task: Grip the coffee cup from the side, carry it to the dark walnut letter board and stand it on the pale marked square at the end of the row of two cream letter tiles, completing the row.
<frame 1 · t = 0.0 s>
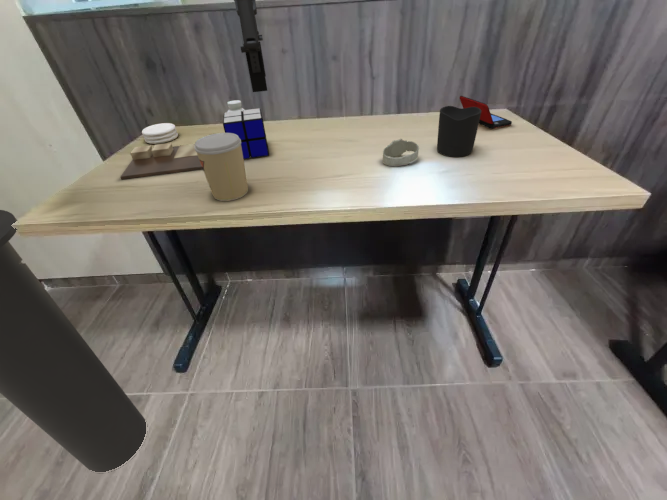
hand: (259, 83, 71), 21 cm above the table, tool pointing down, fingers open, 13 cm apart
puzzle cube: (250, 152, 98), on the table
pen holder: (454, 151, 90), on the table
coaster: (162, 139, 112), on the table
pill bottle: (241, 135, 110), on the table
handheld console: (482, 123, 105), on the table
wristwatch: (400, 162, 87), on the table
coffee cup: (231, 193, 79), on the table
letter board: (173, 160, 96), on the table
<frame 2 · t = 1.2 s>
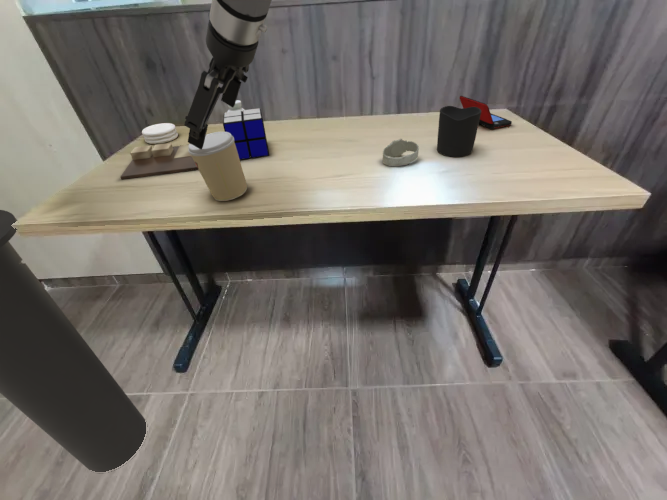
hand: (212, 123, 70), 15 cm above the table, tool tilted 40°, fingers open, 13 cm apart
coffee cup: (230, 192, 78), on the table, touching gripper
everything else where it was.
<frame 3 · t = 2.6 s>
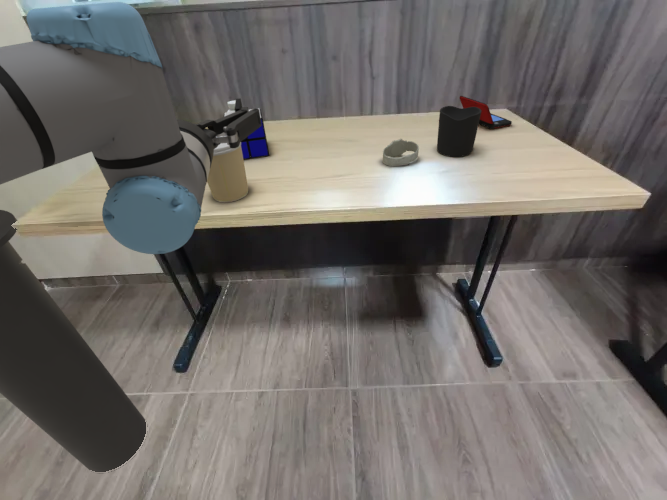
hand: (199, 111, 59), 20 cm above the table, tool horizontal, fingers open, 13 cm apart
coffee cup: (231, 194, 78), on the table
everything else where it was.
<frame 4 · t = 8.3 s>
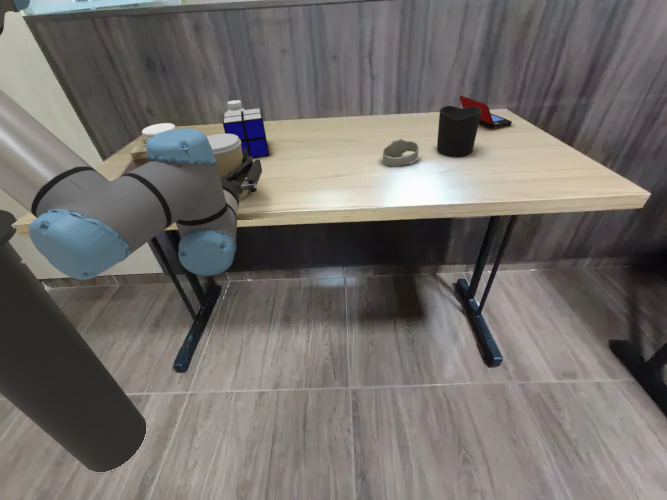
hand: (225, 156, 78), 7 cm above the table, tool horizontal, fingers closed on coffee cup, 8 cm apart
coffee cup: (231, 194, 78), on the table, touching gripper
everything else where it was.
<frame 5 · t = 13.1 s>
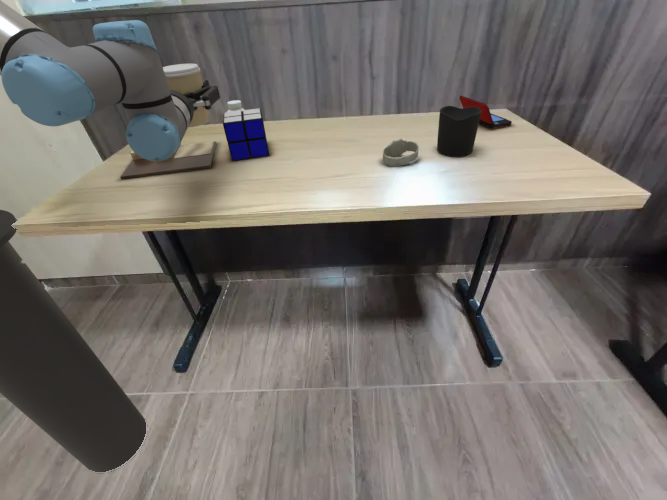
hand: (188, 88, 85), 18 cm above the table, tool horizontal, fingers closed on coffee cup, 8 cm apart
coffee cup: (193, 123, 85), point 11 cm above the table, touching gripper
everything else where it was.
when the fingers open (7 cm above the table, at t = 17.9 s): coffee cup stays where it is, resting on letter board.
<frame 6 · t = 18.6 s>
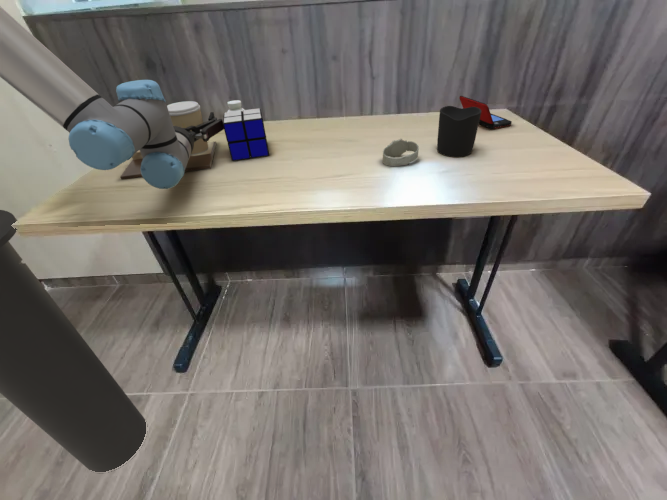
hand: (188, 119, 98), 8 cm above the table, tool horizontal, fingers open, 13 cm apart
coffee cup: (194, 150, 99), point 1 cm above the table, touching letter board
everything else where it was.
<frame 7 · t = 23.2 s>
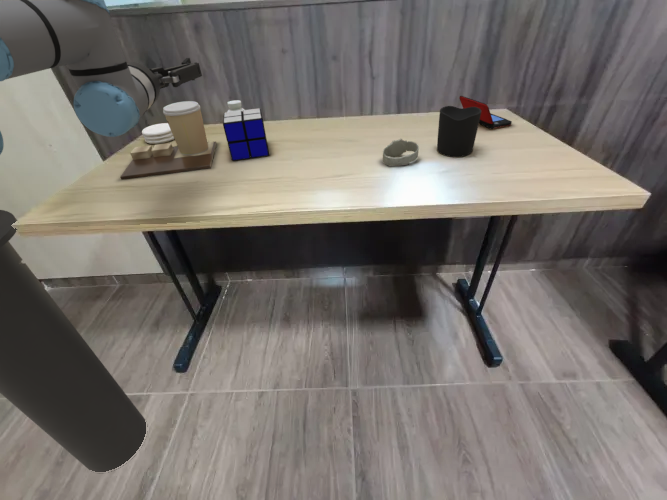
hand: (158, 67, 78), 23 cm above the table, tool horizontal, fingers open, 13 cm apart
nothing on the table moved.
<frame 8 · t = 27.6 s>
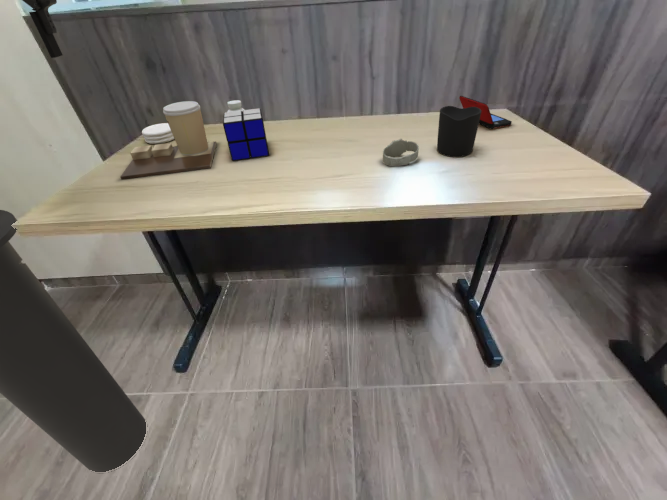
hand: (15, 60, 60), 29 cm above the table, tool pointing down, fingers open, 13 cm apart
nothing on the table moved.
at the end: coffee cup 0.6 cm from the target spot on the letter board, point 0.7 cm above the letter board's base; coffee cup tilted 0°; the gripper is holding nothing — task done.
